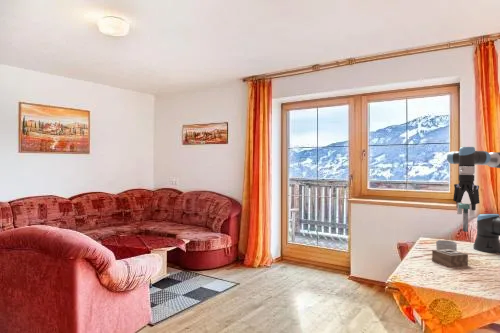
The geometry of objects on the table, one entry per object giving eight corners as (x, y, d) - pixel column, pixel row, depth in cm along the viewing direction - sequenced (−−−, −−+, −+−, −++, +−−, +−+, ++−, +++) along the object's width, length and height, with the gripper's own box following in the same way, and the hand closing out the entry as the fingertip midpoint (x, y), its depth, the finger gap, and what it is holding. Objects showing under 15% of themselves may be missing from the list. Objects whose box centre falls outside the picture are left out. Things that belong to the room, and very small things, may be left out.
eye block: (448, 259, 195) (448, 248, 195) (467, 265, 183) (468, 253, 183) (432, 260, 191) (432, 249, 191) (450, 267, 180) (450, 255, 180)
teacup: (459, 258, 198) (459, 244, 197) (439, 256, 200) (439, 243, 200) (450, 252, 211) (450, 239, 211) (431, 251, 213) (431, 238, 213)
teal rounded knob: (455, 230, 194) (455, 203, 194) (464, 229, 196) (465, 203, 196) (466, 232, 187) (466, 204, 187) (475, 232, 189) (476, 204, 189)
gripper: (446, 173, 200) (445, 212, 200) (478, 174, 181) (477, 218, 181) (456, 173, 202) (455, 212, 202) (488, 174, 183) (487, 217, 183)
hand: (465, 214), depth 192 cm, fingers closed on teal rounded knob, 7 cm apart
